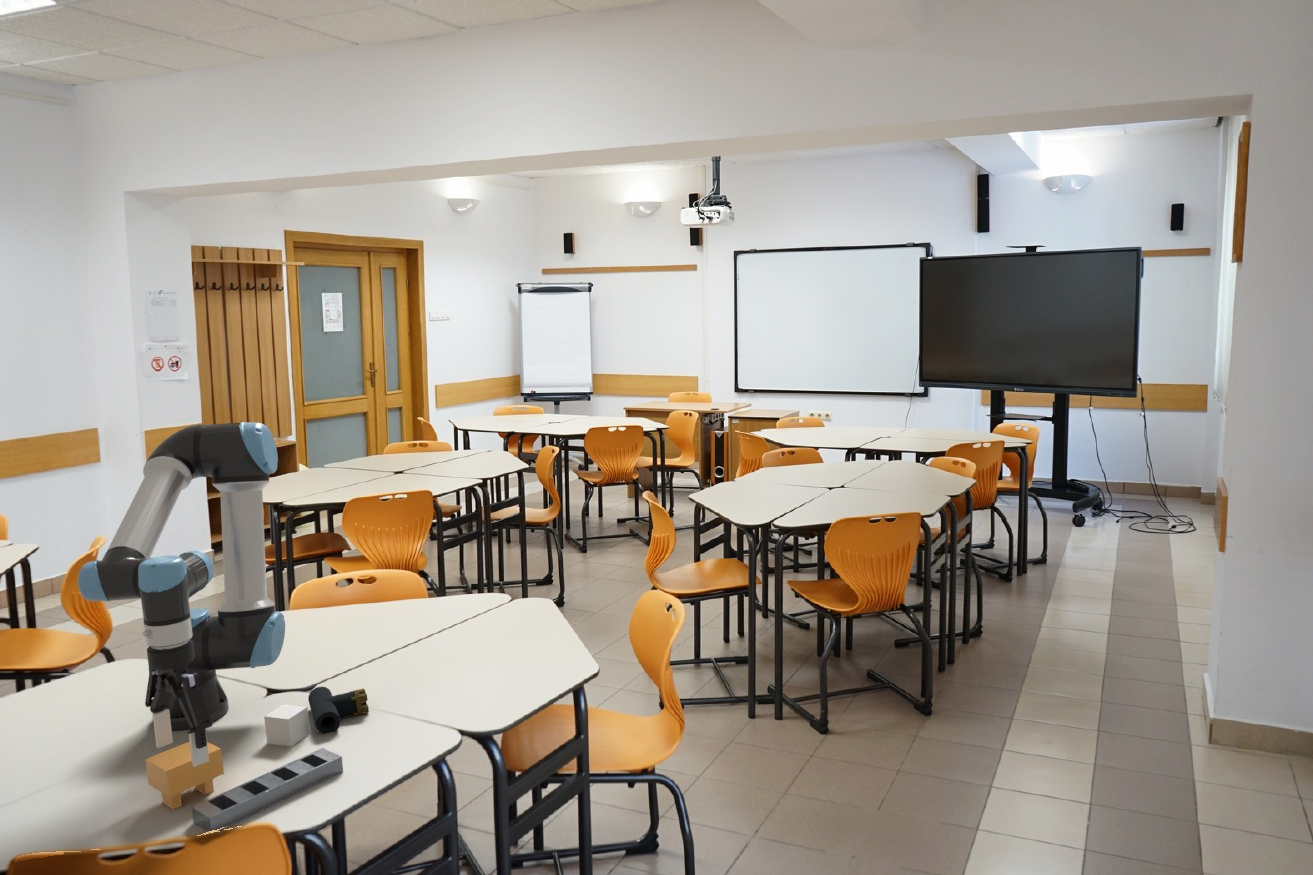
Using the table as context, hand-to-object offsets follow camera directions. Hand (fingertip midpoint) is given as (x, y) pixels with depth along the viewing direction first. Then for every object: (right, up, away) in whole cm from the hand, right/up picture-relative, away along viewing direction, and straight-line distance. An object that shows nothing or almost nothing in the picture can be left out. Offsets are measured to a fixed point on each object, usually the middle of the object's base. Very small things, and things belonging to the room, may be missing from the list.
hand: (182, 754), depth 173 cm
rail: (+16, -8, +1) cm, 18 cm away
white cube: (+10, -5, +24) cm, 27 cm away
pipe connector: (+18, -3, +34) cm, 38 cm away
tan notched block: (0, -8, +2) cm, 9 cm away
